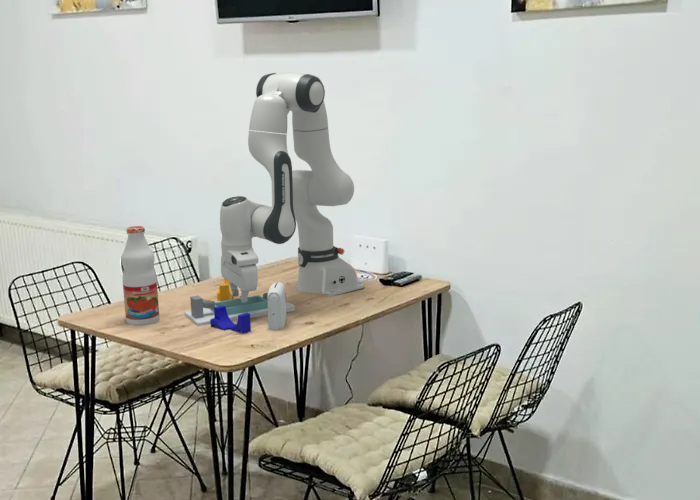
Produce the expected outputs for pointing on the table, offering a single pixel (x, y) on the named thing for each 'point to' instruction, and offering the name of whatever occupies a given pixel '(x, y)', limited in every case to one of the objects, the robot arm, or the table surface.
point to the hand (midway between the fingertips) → (239, 298)
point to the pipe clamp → (224, 291)
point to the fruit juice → (139, 279)
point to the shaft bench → (229, 308)
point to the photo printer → (276, 306)
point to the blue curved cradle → (225, 323)
